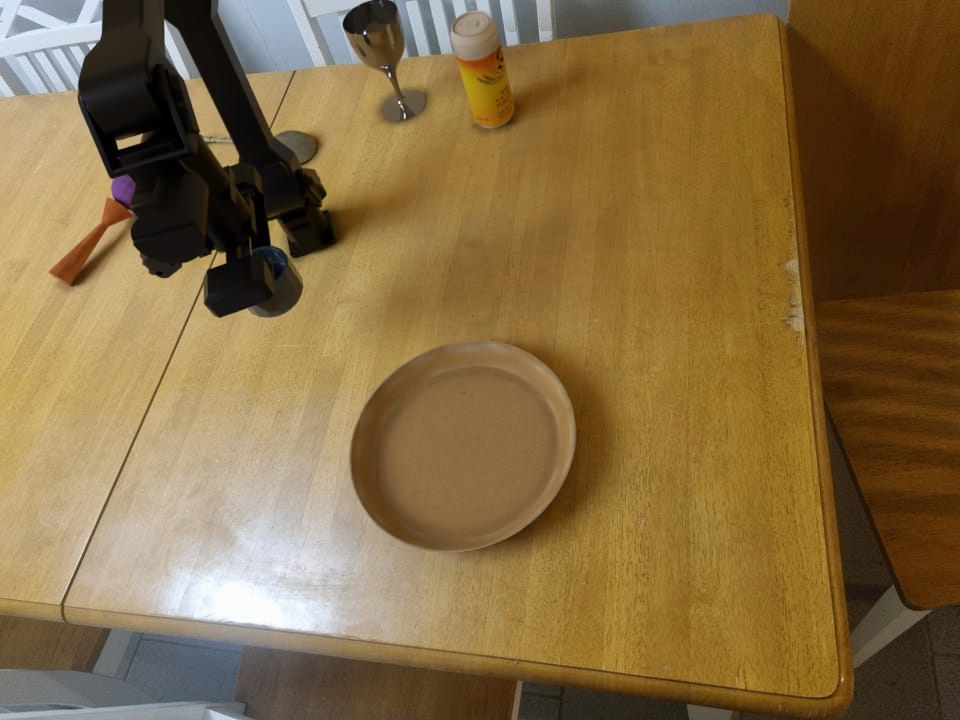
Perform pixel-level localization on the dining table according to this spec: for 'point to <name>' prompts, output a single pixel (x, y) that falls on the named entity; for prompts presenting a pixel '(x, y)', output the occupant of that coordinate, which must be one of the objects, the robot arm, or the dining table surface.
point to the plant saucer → (462, 446)
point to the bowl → (280, 280)
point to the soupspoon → (287, 143)
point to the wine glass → (383, 52)
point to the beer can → (482, 68)
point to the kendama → (97, 230)
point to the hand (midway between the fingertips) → (271, 286)
